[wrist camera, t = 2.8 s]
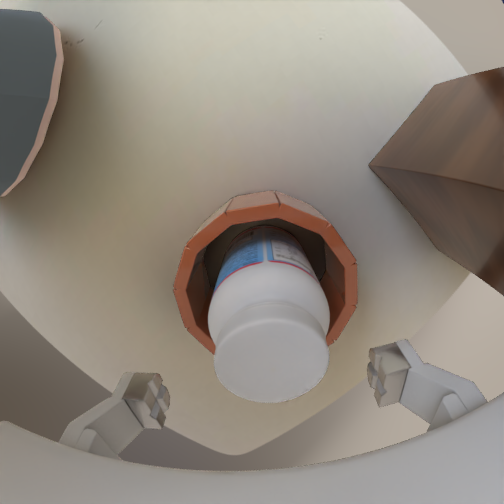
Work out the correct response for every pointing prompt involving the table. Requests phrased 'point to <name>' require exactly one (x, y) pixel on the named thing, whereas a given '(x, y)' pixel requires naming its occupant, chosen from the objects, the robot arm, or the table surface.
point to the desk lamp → (26, 89)
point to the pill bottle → (268, 318)
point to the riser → (455, 171)
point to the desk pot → (256, 209)
